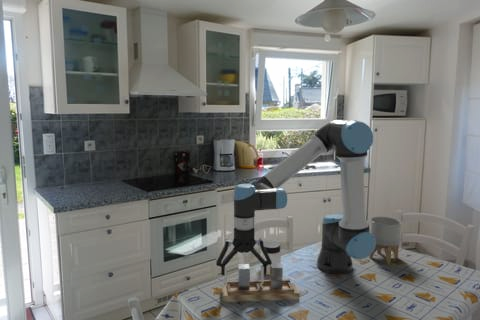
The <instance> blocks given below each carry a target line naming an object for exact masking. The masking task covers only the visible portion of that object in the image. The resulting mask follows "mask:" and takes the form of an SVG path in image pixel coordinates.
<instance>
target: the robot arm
mask: <svg viewBox="0 0 480 320" xmlns="http://www.w3.org/2000/svg"><path fill="white" fill-rule="evenodd" d="M373 143H374V134H373V131H372V129H371V127H370V126H369V125H368V124H367V123H365V122H364V121H360V120H354V119H335V120H331V121H329V122H327V123H325V125H323V126H322V127H320V128H319V129H317V130H316V131H315V132H314V133H312V134H311V135H310V137H309V140H308V141H306V142H304V144H301V146H299V148H297V149H296V150H295V151H294V152H292V153H290V155H288V156H287V157H286V158H285V159H284V160H282V161H281V162H280V163H278V164H277V165H276V166H274V167H273V168H271V170H270V171H268V172H267V173H265V174H264V175H263V176H262V177H260V178H259V179H253V180H251V181H250V182H249V183H241V184H236V186H235V187H234V189H233V226H234V227H233V240H229V239H228V238H227V239H225V241H224V245H223V247H222V249H221V251H220V253H219V256H218V258H216V259H217V260H216V266H217V267H220V270H221V273H220V275H221V276H224V285H227V281H228V274H227V273H228V272H227V269H228V268H227V267H228V266H227V264H228V263H230V261H231V260H232V259H233V257H234V256H236V255H237V254H238V253H240V254H243V253H249V252H251V254H253V256H254V257H255V258H256V259H257V260H258V261H259V262H260V280H261V284H264V280H265V279H264V277H265V275H267V274H266V273H267V265H271V264H272V262H271V259H270V257H269V255H268V253H267V251H266V250H265V248H264V245H263V242H264V241H263V238H259V239H255V236H256V235H255V234H256V233H255V232H256V231H255V225H256V223H255V222H256V221H255V219H256V218H255V217H256V216H255V215H256V214H255V212H256V211H268V210H269V211H271V210H282V209H285V208H286V206H287V205H288V194H287V192H286V190H285V188H282V185H284V184H285V183H287V182H288V181H290V180H291V179H292V178H293V177H294V176H296V174H298V173H299V172H300V171H302V170H303V169H304V168H305V167H307V166H309V164H311V163H312V162H313V161H314V160H317V158H318V157H320V156H321V155H326V154H327V153H329V152H330V151H333V150H335V157H336V158H337V160H339V163H340V166H339V167H340V168H339V169H340V186H341V187H340V189H341V192H340V195H341V212H342V213H341V214H340V213H339V214H338V213H335V214H332V213H331V214H328V215H327V214H326V215H325V216H324V217H323V218H322V223H321V225H322V228H321V229H322V231H321V233H322V234H321V249H320V252H319V254H318V256H317V261H316V266H317V267H318V269H320V270H322V271H324V272H327V273H331V274H347V273H350V272H351V271H352V270H353V265H354V264H353V263H354V262H353V260H352V258H353V259H354V260H359V261H361V260H364V259H367V258H369V255H370V254H371V253H372V252H373V251H374V249H375V246H376V240H375V237H374V236H373V235H372V234H371V233H370V222H369V221H368V220H367V219H366V208H365V207H366V204H365V203H366V201H365V174H364V173H365V171H364V170H365V169H364V168H365V167H364V160H365V158H367V157H368V151H369V150H370V148H371V147H372V146H373ZM232 245H233V248H232V250H231V251H230V252H229V253H228V254H226V253H227V251H228V249H229V248H231V246H232ZM255 245H257V246H258V247H259V248H260V251H261V250H262V252H263V254H264V256H265V258H266V261H265V260H264V259H263V258H262V257H261V253H259V252H258V251H257V249H256V248H255ZM225 255H226V257H225ZM224 257H225V258H224ZM261 263H262V264H261Z"/></svg>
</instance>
